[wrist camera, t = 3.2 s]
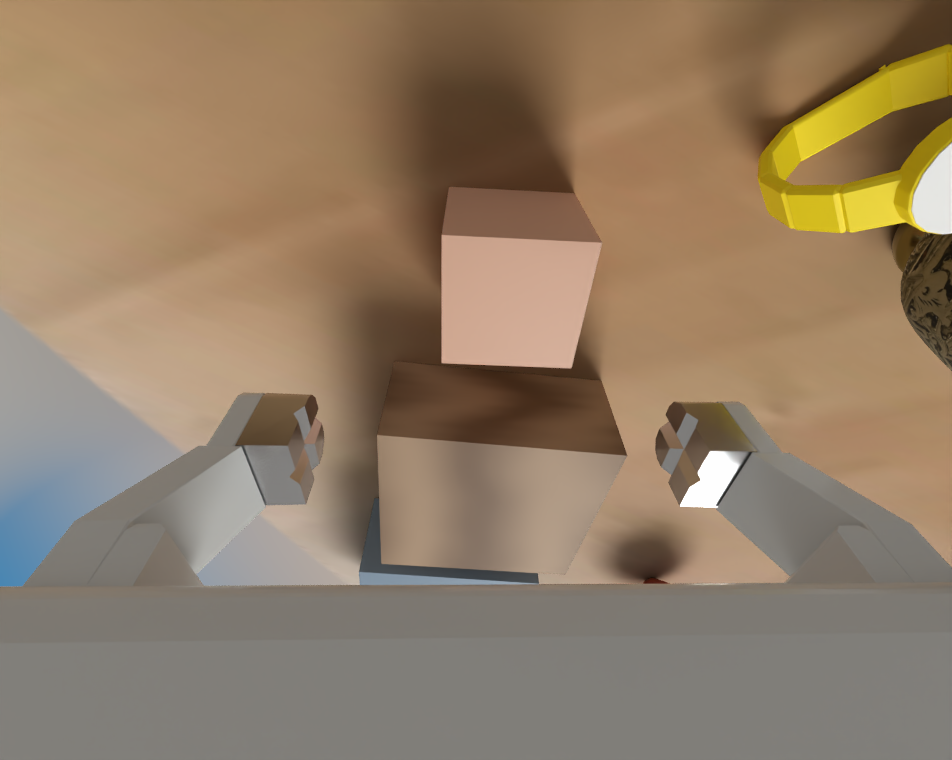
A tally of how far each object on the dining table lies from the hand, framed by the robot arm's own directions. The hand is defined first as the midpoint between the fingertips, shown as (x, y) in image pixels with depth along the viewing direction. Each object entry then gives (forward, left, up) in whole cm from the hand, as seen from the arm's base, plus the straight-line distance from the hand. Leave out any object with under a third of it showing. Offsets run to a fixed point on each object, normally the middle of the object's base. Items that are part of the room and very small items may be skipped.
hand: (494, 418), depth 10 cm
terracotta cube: (-1, 0, -9) cm, 9 cm away
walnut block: (-1, +11, -9) cm, 14 cm away
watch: (-11, -5, -9) cm, 15 cm away
